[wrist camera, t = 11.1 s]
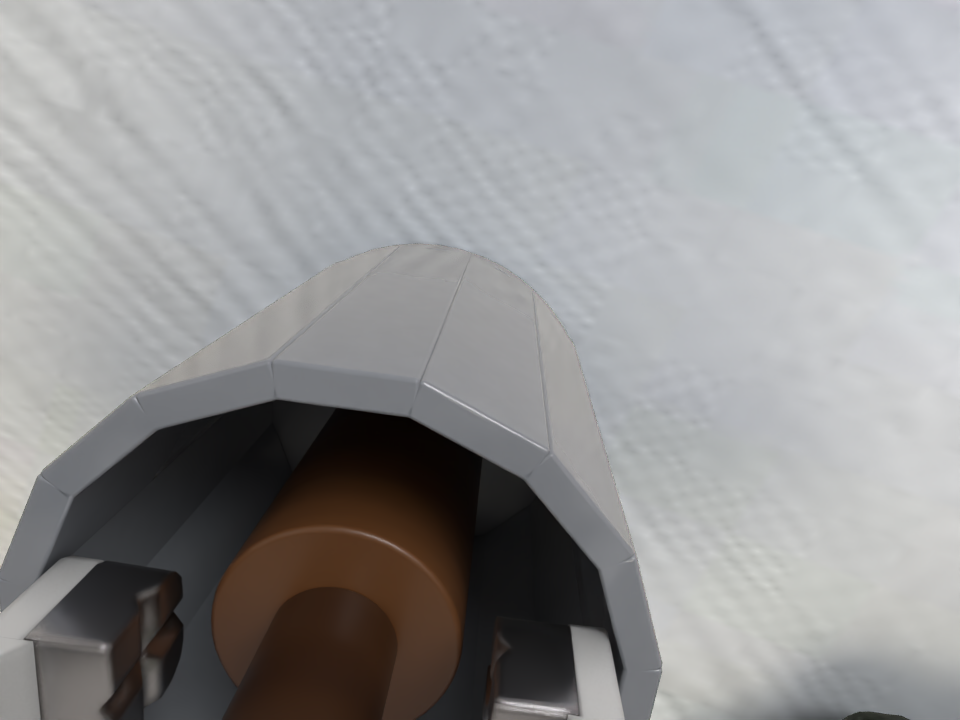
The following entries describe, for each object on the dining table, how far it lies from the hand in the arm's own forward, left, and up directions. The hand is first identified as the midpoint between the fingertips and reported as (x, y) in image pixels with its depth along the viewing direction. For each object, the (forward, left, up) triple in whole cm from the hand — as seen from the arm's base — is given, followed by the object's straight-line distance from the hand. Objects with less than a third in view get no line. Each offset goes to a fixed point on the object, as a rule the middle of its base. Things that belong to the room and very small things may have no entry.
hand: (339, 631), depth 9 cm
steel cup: (0, 0, -9) cm, 9 cm away
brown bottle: (0, 0, -9) cm, 9 cm away
